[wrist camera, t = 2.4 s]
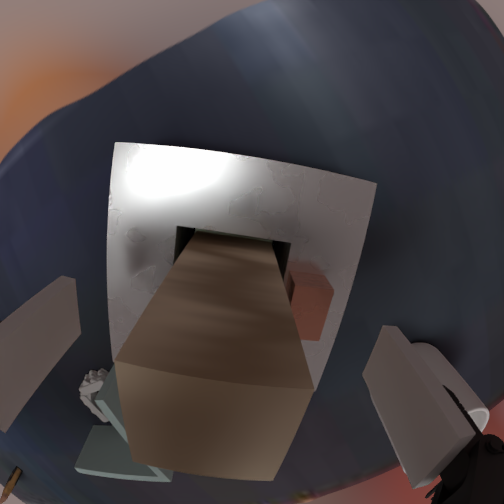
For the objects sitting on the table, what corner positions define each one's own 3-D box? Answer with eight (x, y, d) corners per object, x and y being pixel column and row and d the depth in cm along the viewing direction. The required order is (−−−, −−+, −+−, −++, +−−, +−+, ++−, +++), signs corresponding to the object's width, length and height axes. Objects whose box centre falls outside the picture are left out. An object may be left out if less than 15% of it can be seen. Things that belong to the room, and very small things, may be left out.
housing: (138, 319, 23) (102, 379, 16) (149, 146, 19) (98, 140, 12) (301, 343, 24) (320, 411, 17) (342, 176, 20) (394, 187, 13)
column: (196, 278, 22) (130, 462, 7) (203, 217, 21) (109, 355, 6) (257, 287, 23) (275, 482, 7) (268, 227, 21) (320, 386, 6)
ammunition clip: (16, 466, 36) (-1, 499, 24) (23, 470, 36) (6, 504, 25) (12, 472, 38) (-3, 501, 26) (17, 476, 38) (3, 506, 27)
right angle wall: (132, 344, 24) (103, 399, 17) (181, 428, 28) (171, 481, 21) (46, 355, 25) (12, 396, 18) (98, 429, 29) (79, 472, 21)
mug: (413, 300, 24) (482, 369, 13) (444, 368, 26) (491, 429, 16) (337, 356, 25) (374, 447, 15) (383, 412, 28) (416, 482, 18)
